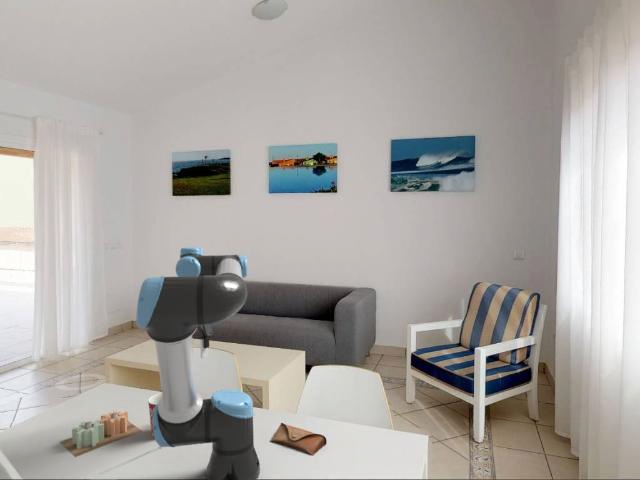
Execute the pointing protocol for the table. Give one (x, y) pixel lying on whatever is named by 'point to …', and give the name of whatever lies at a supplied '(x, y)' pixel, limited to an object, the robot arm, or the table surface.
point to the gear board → (107, 440)
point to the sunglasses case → (298, 439)
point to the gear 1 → (87, 434)
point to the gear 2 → (114, 423)
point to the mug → (152, 403)
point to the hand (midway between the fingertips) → (193, 352)
